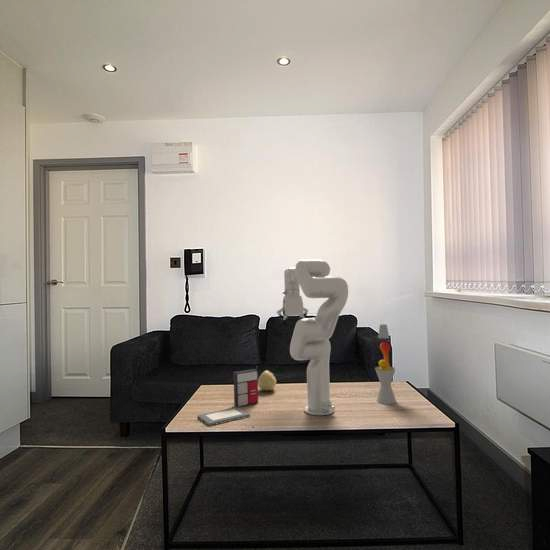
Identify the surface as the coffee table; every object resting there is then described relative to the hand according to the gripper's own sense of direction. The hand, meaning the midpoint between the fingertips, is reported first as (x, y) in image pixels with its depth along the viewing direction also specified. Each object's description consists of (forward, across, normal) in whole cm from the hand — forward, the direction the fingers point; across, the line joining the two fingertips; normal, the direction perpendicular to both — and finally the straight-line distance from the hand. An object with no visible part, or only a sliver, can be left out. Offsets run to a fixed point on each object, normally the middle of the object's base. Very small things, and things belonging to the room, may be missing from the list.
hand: (293, 327), depth 185 cm
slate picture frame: (+33, -42, -16) cm, 55 cm away
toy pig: (+34, -9, +13) cm, 37 cm away
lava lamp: (+34, +30, -31) cm, 55 cm away
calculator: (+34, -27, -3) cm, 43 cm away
